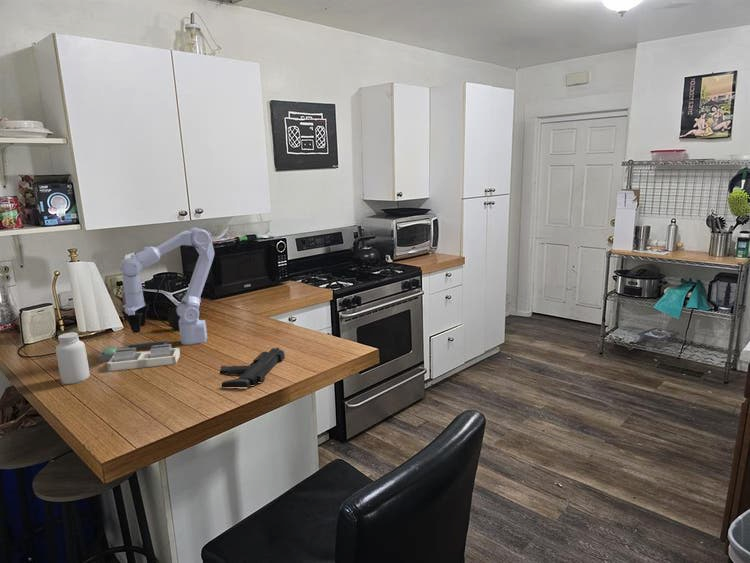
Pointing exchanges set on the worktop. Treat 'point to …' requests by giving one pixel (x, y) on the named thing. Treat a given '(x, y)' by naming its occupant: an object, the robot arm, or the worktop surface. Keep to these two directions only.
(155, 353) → the seated billet
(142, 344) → the tote
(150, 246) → the robot arm
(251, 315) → the worktop surface
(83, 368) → the pill bottle
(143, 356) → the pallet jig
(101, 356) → the button housing
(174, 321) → the rock
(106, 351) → the button
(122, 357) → the block
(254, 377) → the firearm
